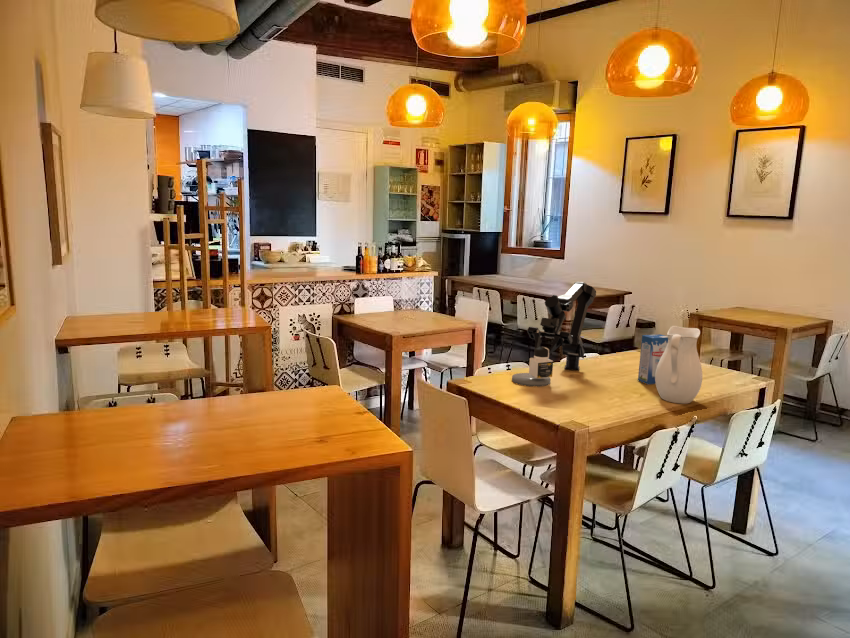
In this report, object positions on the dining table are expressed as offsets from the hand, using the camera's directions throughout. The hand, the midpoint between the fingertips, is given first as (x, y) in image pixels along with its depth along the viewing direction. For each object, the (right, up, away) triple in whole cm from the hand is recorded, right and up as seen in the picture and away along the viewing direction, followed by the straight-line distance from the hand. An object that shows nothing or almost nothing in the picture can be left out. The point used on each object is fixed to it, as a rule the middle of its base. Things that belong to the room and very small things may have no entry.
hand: (542, 351), depth 260 cm
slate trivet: (-4, -13, +4) cm, 14 cm away
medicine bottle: (-1, -10, +1) cm, 10 cm away
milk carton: (+49, -14, +10) cm, 52 cm away
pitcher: (+47, -18, -18) cm, 54 cm away
